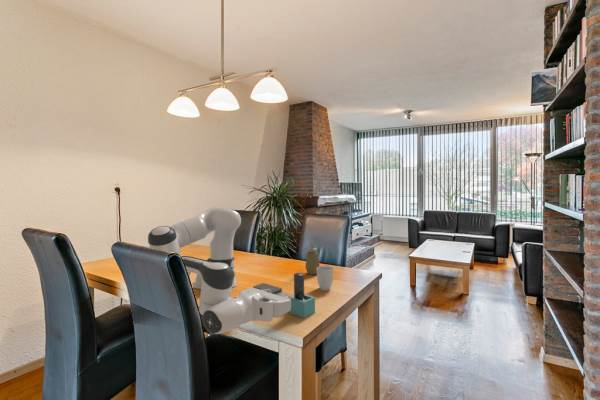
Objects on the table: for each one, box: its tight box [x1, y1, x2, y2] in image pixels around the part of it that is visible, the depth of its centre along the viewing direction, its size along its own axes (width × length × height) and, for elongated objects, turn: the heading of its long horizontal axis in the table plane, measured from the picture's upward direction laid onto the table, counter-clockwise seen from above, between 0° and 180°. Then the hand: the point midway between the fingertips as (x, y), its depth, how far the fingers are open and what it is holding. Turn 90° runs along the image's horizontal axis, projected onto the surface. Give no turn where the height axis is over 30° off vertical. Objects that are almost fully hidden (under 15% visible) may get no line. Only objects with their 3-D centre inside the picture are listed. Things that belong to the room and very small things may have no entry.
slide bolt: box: [273, 272, 308, 301], centre depth 122 cm, size 17×4×14 cm, turn 51°
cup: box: [316, 265, 334, 291], centre depth 146 cm, size 8×8×10 cm
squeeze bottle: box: [305, 241, 321, 276], centre depth 171 cm, size 8×8×18 cm
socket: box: [289, 293, 316, 319], centre depth 118 cm, size 7×7×6 cm
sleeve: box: [252, 282, 283, 294], centre depth 131 cm, size 12×6×6 cm, turn 51°
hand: (279, 293), depth 110 cm, fingers open, 8 cm apart
